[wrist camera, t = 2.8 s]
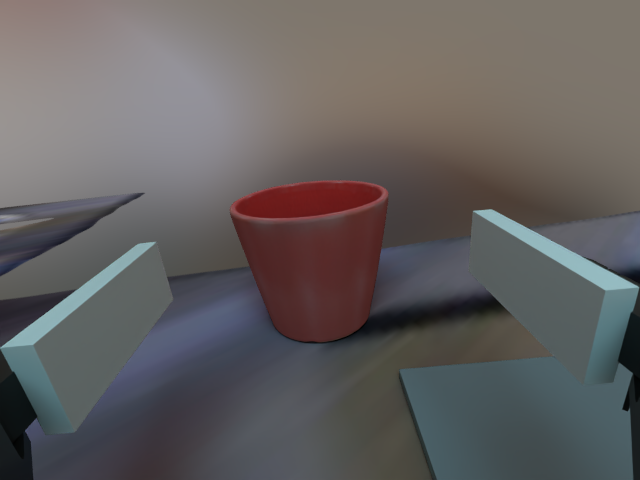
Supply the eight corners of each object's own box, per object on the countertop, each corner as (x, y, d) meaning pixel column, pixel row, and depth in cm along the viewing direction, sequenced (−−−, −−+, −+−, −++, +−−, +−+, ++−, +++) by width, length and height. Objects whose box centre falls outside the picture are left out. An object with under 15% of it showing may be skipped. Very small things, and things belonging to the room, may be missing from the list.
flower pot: (254, 290, 31) (236, 187, 28) (368, 274, 32) (365, 173, 29) (247, 371, 21) (218, 228, 18) (411, 344, 23) (414, 204, 19)
